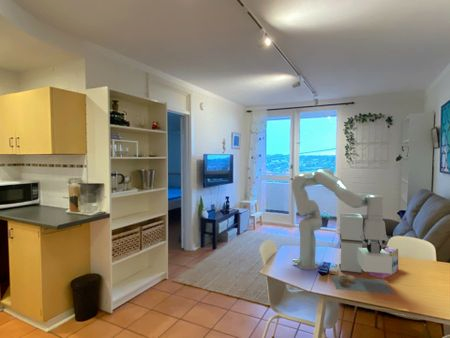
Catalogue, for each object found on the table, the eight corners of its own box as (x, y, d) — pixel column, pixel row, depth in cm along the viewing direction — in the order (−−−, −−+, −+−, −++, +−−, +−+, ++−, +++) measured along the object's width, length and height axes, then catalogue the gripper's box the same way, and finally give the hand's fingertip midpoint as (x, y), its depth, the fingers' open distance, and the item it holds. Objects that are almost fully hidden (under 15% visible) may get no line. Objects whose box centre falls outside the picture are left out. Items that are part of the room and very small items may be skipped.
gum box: (386, 266, 178) (386, 245, 177) (399, 270, 172) (400, 248, 171) (367, 276, 164) (368, 253, 163) (381, 280, 157) (382, 257, 157)
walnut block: (340, 286, 149) (341, 278, 148) (339, 282, 152) (339, 275, 152) (348, 286, 148) (349, 279, 148) (347, 283, 152) (347, 276, 152)
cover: (364, 271, 143) (364, 246, 143) (357, 262, 156) (357, 238, 156) (391, 273, 141) (392, 247, 140) (382, 263, 154) (382, 240, 153)
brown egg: (348, 282, 152) (348, 277, 152) (346, 280, 156) (346, 274, 156) (355, 283, 152) (355, 278, 151) (353, 280, 155) (353, 275, 155)
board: (336, 290, 145) (336, 288, 145) (331, 277, 161) (331, 276, 161) (394, 296, 140) (395, 294, 140) (383, 282, 155) (383, 280, 155)
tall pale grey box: (358, 268, 173) (359, 213, 172) (361, 275, 163) (362, 217, 162) (339, 266, 177) (340, 212, 175) (340, 273, 167) (341, 216, 165)
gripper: (359, 218, 145) (359, 253, 146) (394, 220, 142) (393, 255, 143) (355, 215, 153) (355, 248, 153) (389, 217, 149) (388, 250, 150)
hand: (373, 251), depth 148 cm, fingers closed on cover, 4 cm apart
